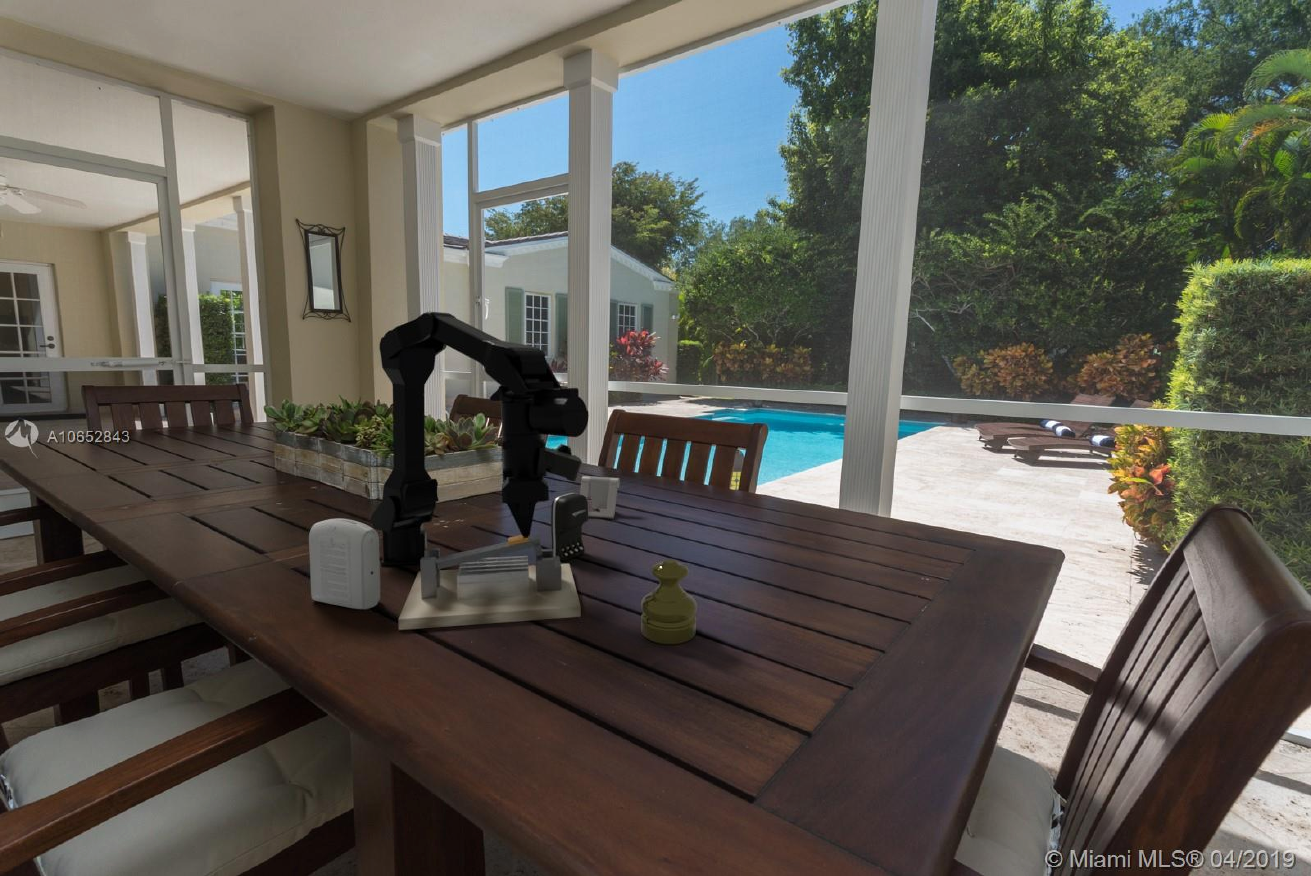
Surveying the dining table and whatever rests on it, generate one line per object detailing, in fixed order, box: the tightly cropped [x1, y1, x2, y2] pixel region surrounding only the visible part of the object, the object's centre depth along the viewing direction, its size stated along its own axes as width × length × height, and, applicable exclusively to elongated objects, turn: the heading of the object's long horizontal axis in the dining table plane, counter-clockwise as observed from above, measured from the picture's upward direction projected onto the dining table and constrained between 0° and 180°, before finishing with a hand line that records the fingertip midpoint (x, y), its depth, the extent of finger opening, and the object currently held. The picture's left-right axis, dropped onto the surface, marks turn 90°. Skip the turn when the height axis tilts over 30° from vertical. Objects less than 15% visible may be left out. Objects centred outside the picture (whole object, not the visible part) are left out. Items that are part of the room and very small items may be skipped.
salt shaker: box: [640, 558, 698, 645], centre depth 81 cm, size 7×7×10 cm
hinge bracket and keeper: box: [419, 547, 562, 599], centre depth 92 cm, size 20×5×6 cm, turn 103°
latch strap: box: [436, 534, 543, 570], centre depth 91 cm, size 17×2×3 cm, turn 103°
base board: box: [398, 563, 582, 631], centre depth 92 cm, size 24×18×2 cm
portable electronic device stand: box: [579, 475, 621, 519], centre depth 141 cm, size 9×8×8 cm
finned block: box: [457, 555, 529, 601], centre depth 92 cm, size 10×8×4 cm
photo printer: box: [308, 518, 381, 610], centre depth 89 cm, size 10×4×12 cm, turn 73°
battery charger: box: [550, 492, 589, 561], centre depth 111 cm, size 7×4×11 cm, turn 148°
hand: (526, 535), depth 92 cm, fingers closed, pressing on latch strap
